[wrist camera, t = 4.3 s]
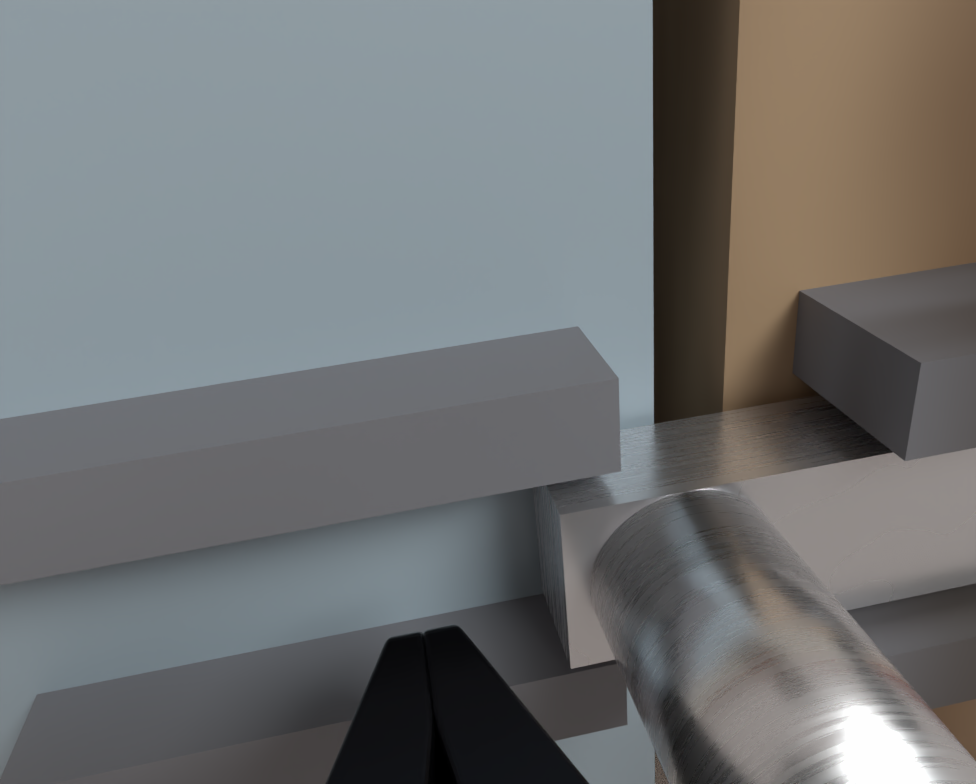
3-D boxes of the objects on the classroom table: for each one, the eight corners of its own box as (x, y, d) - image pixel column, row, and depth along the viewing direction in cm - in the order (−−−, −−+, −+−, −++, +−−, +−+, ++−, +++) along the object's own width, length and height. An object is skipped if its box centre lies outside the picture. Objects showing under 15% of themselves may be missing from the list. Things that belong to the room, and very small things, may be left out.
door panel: (566, -234, 10) (729, -409, 6) (607, 745, 18) (688, 960, 14) (-302, -166, 9) (-863, -326, 5) (160, 845, 17) (104, 1112, 13)
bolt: (1072, 349, 11) (1658, 617, 6) (1035, 488, 12) (1511, 811, 7) (528, 446, 10) (710, 848, 5) (541, 587, 11) (700, 1030, 6)
